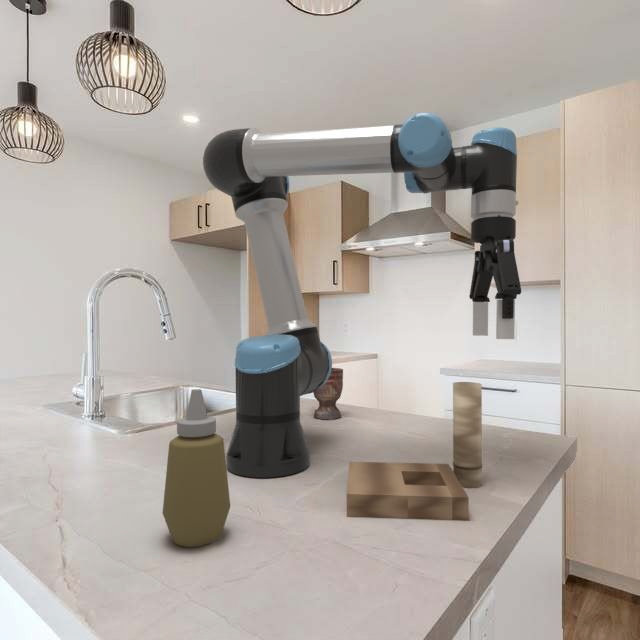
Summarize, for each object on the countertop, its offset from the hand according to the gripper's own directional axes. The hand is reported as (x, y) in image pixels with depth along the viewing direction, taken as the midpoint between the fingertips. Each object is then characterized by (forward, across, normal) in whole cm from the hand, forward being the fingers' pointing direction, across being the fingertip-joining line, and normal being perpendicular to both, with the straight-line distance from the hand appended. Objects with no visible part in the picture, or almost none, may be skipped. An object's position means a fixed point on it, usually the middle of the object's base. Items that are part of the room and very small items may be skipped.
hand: (491, 337), depth 83 cm
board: (+23, -16, +18) cm, 33 cm away
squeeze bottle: (+24, -29, +44) cm, 58 cm away
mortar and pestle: (+24, +41, +32) cm, 57 cm away
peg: (+23, -9, +6) cm, 26 cm away
